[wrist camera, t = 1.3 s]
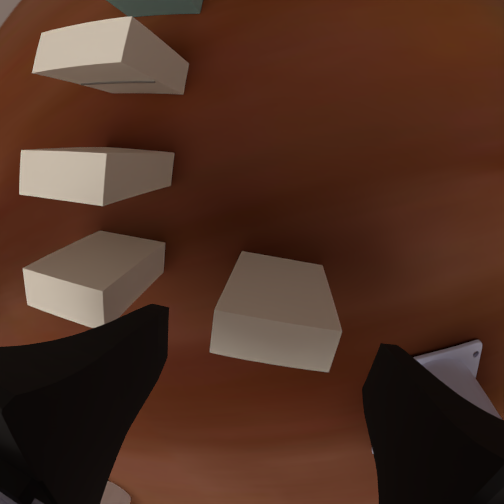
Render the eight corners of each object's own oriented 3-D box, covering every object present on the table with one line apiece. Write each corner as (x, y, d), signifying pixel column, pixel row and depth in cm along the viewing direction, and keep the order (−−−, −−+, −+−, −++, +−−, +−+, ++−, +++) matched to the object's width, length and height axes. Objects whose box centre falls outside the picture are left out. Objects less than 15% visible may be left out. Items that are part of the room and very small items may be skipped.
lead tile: (315, 296, 18) (327, 373, 11) (236, 282, 18) (209, 354, 11) (322, 265, 17) (342, 331, 11) (241, 250, 17) (214, 309, 11)
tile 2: (170, 187, 17) (102, 207, 10) (102, 178, 17) (19, 195, 10) (174, 152, 16) (106, 153, 10) (105, 147, 17) (21, 150, 10)
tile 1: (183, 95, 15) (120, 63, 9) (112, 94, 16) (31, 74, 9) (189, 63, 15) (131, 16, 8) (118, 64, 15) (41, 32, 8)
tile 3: (163, 273, 18) (105, 333, 12) (99, 259, 19) (27, 306, 12) (165, 242, 18) (102, 291, 11) (99, 230, 18) (23, 268, 11)
